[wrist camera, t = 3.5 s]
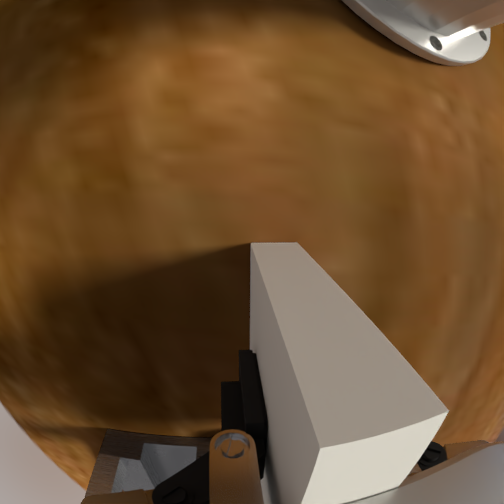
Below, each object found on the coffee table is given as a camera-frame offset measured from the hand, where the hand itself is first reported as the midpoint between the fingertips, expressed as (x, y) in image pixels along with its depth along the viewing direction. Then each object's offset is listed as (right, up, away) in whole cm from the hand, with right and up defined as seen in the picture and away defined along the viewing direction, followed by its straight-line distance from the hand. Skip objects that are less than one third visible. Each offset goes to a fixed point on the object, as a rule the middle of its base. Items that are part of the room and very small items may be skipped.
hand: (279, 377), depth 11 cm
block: (0, +1, +3) cm, 3 cm away
